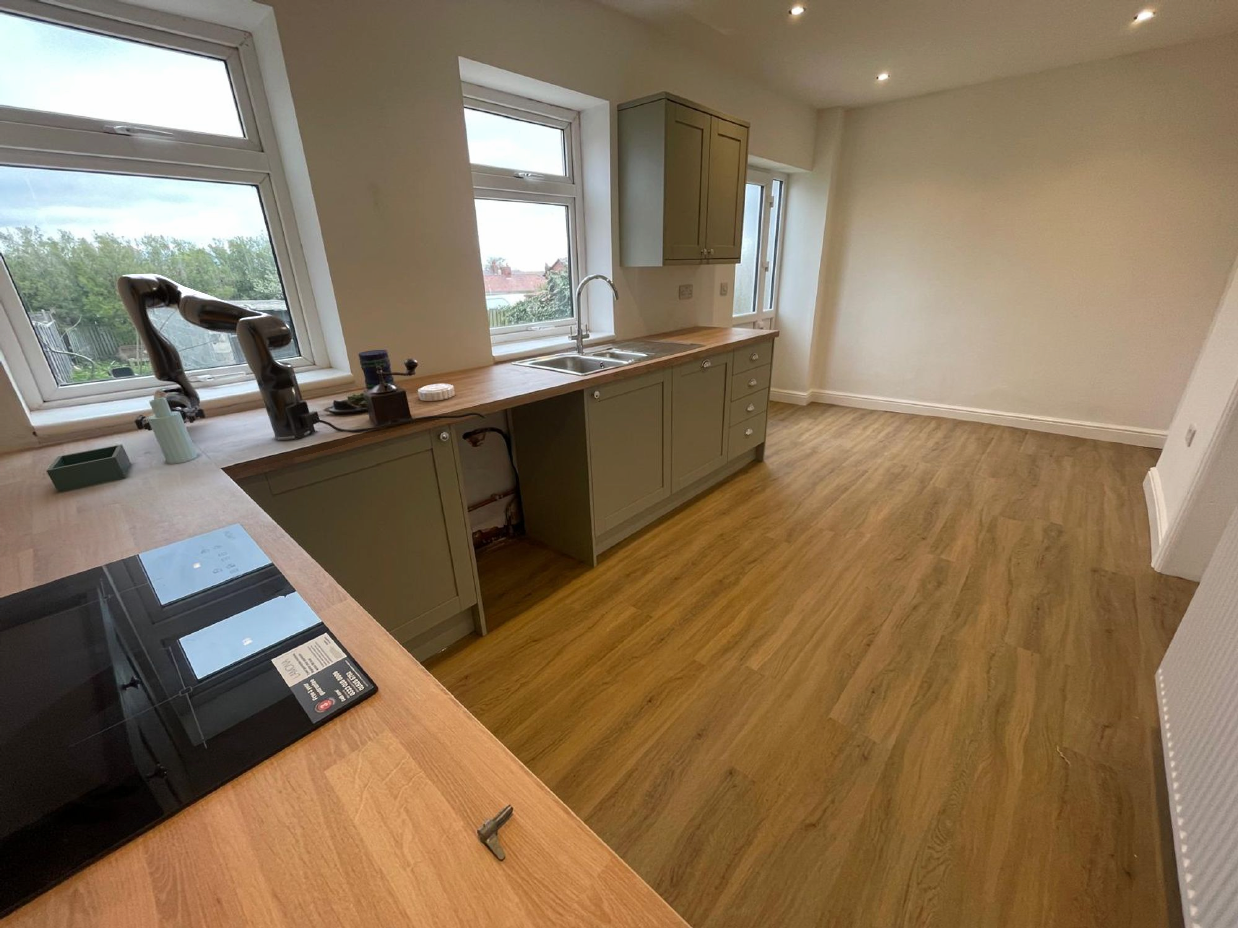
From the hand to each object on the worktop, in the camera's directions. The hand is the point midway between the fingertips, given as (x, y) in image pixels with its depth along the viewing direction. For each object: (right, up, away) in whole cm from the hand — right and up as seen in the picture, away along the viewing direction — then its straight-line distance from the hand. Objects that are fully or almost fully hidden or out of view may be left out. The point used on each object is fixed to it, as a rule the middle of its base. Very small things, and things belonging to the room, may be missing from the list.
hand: (169, 423), depth 130 cm
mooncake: (+52, +13, +47) cm, 72 cm away
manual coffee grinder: (+49, +3, +26) cm, 55 cm away
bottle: (+3, -9, +1) cm, 10 cm away
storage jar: (+29, +16, +56) cm, 65 cm away
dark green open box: (-10, -14, -8) cm, 19 cm away
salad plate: (+29, +8, +38) cm, 48 cm away
